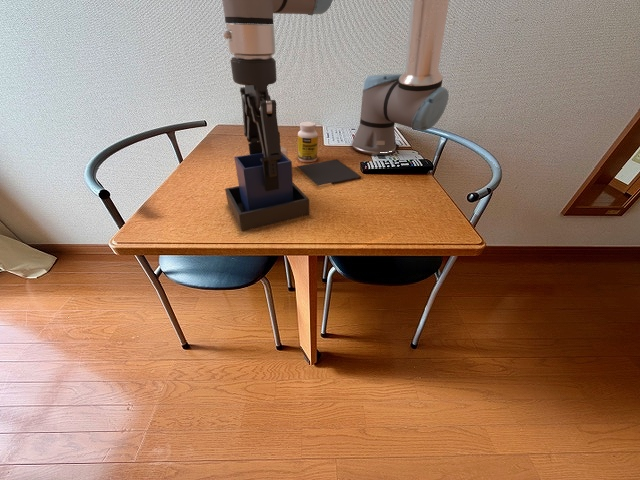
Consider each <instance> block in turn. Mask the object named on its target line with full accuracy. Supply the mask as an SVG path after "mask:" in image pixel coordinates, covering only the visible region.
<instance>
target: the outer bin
mask: <svg viewBox="0 0 640 480" xmlns="http://www.w3.org/2000/svg"><path fill="white" fill-rule="evenodd" d="M292 185H293V201H292V202H287V203H283V204H278V205H274V206H269V207H265V208H260V209H256V210H251V211H247V212H245V211H244V209H243V207H242V202H241V196H240V189H239V185H237V186H232V187H226V188H224V190H225V191H224V192H225V196H226V202H227V205H228V207H229V209H230V210H231V213H232V215H233V217H234V219H235V221H236V223H237V225H238V228H239V230H240V232H246V231H250V230H254V229H259V228H262V227H266V226H270V225H275V224H279V223H282V222H287V221H290V220H294V219H298V218H302V217H303V218H304V217H306V216H309V215H310V199H309V197H308V196H307V195H306V194H305V193H304V192H303V191H302V190H301V189H300V188H299V187H298V186H297V185H296V184H295V183H294V181H292Z"/></svg>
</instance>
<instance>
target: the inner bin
mask: <svg viewBox="0 0 640 480" xmlns="http://www.w3.org/2000/svg"><path fill="white" fill-rule="evenodd" d="M281 155H282V159H279V160H277V165H278V180H279V189H276V190H271V191H266V190H265V182H264V172H263V162H261V160H260V159H261V158H264V155H263V153H257V154H250V153H249V154H246V155H238V156H234V157H233V158H234V163H235V171H236V176H237V182H238V186H239V189H240V196H241V202H242V207H243V209H244V211H245V212H247V211H251V210H256V209H260V208H265V207H269V206H274V205H278V204H283V203H287V202H292V201H293V185H292V182H293V161H292V160H291V159H290V158H289V157H288V156H287V157H288V158H287V157H286V156H285V155H284V154H283V153H282V152H281Z"/></svg>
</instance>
